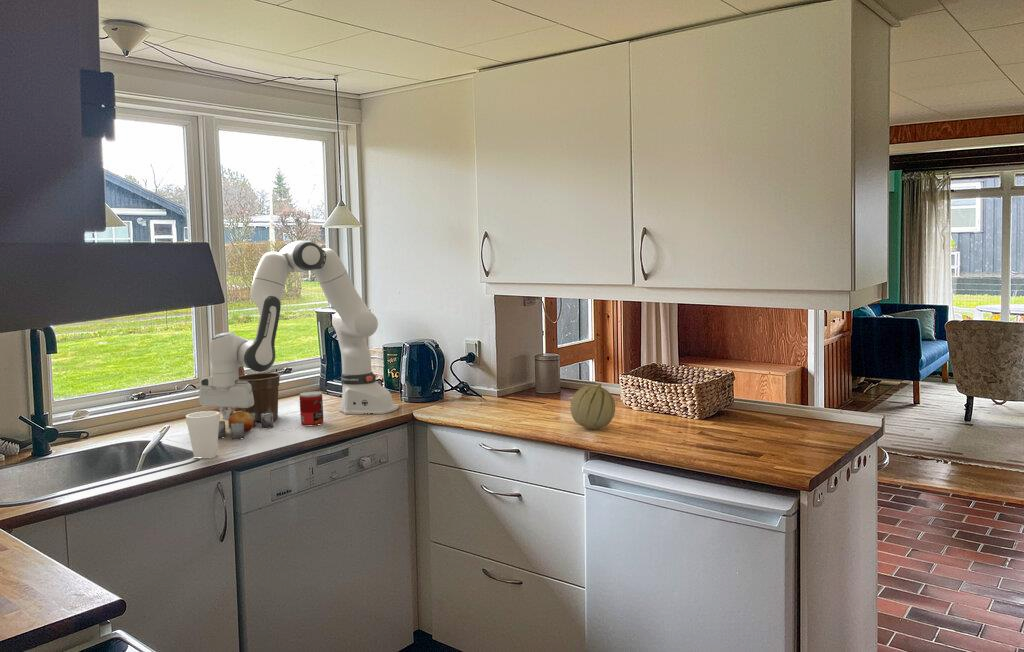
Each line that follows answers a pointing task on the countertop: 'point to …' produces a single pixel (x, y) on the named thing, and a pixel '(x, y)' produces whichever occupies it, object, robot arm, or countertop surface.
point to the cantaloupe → (592, 407)
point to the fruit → (242, 419)
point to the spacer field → (238, 427)
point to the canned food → (311, 408)
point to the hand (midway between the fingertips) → (228, 419)
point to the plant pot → (263, 393)
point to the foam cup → (203, 432)
